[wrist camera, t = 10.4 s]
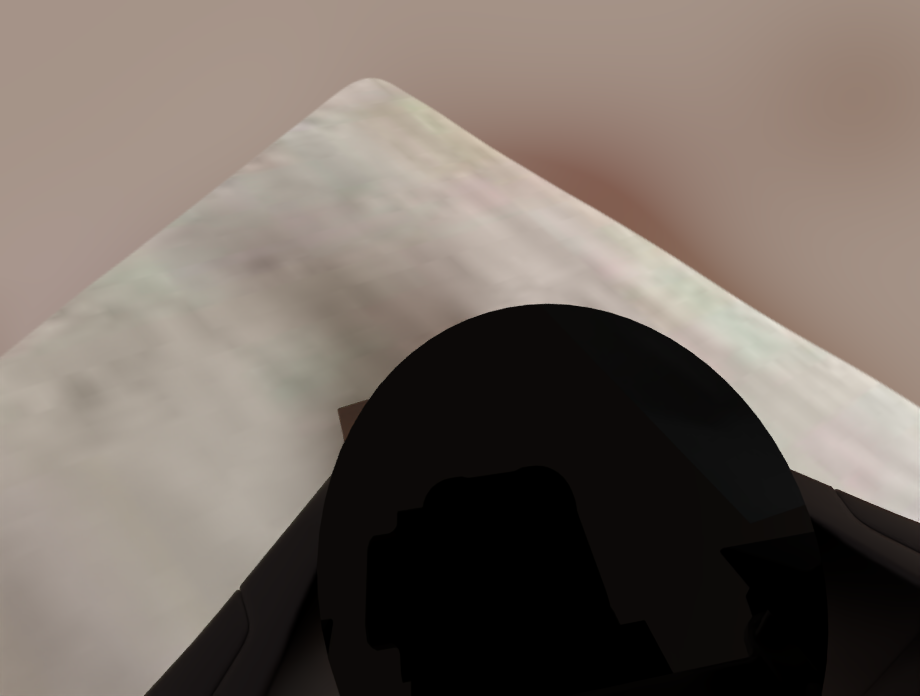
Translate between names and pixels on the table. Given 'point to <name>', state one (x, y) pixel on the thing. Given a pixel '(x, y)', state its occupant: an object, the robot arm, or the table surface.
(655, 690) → the supplement container
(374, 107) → the table surface
